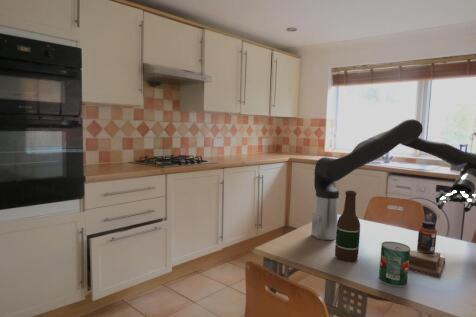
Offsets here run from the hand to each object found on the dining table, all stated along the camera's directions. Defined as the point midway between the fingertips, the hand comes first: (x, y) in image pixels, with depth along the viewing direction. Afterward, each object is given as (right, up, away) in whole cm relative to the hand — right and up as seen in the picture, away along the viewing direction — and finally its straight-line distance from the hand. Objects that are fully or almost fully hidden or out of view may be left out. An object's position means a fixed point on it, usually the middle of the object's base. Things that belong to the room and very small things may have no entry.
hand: (452, 208), depth 124 cm
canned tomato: (-33, -19, -23) cm, 44 cm away
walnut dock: (-18, -18, -9) cm, 27 cm away
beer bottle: (-42, -17, -7) cm, 46 cm away
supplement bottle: (-8, -17, +3) cm, 19 cm away
